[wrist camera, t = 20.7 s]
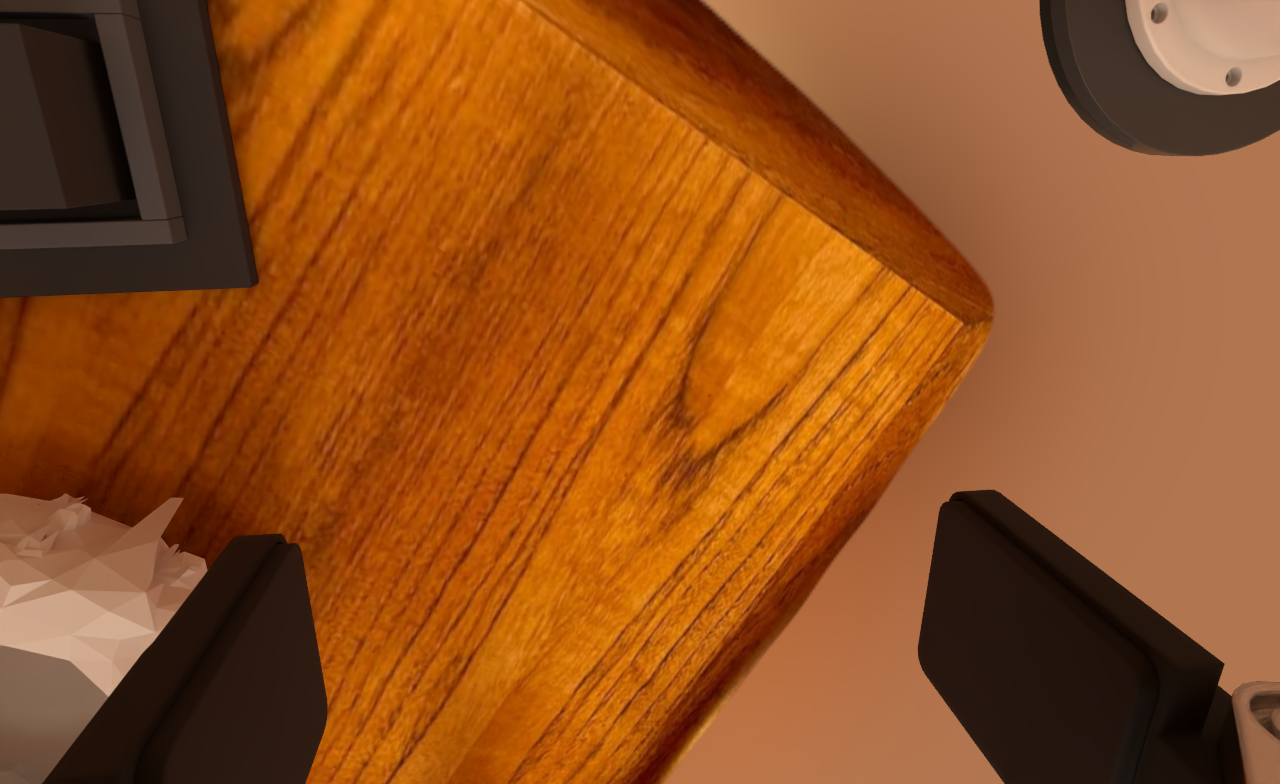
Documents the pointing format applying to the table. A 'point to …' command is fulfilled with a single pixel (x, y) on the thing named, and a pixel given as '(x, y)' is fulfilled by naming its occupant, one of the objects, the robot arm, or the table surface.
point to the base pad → (141, 163)
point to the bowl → (75, 618)
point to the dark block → (57, 123)
